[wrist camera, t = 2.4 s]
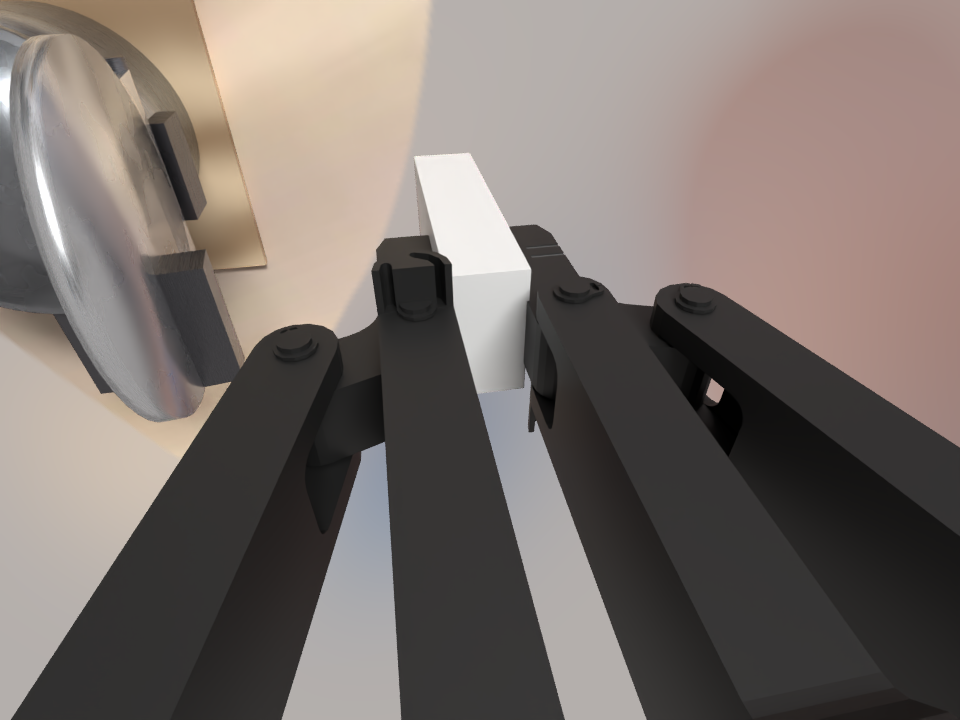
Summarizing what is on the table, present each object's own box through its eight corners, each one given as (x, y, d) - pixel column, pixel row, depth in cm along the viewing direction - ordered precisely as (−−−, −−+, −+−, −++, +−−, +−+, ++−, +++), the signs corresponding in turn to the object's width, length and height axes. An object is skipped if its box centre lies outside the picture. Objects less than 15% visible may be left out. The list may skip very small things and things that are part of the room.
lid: (-73, 83, 11) (64, 74, 12) (88, 10, 23) (155, 8, 23) (171, 498, 20) (243, 481, 21) (200, 299, 32) (246, 291, 32)
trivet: (-217, -71, 26) (-227, -71, 26) (173, -72, 29) (170, -72, 28) (9, 283, 39) (5, 288, 38) (267, 261, 41) (266, 265, 41)
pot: (-191, -74, 26) (-389, -77, 19) (155, -75, 28) (90, -78, 21) (56, 330, 41) (-4, 410, 34) (269, 309, 43) (253, 380, 36)
